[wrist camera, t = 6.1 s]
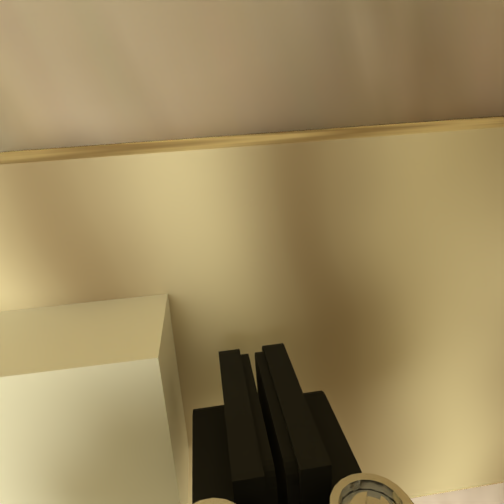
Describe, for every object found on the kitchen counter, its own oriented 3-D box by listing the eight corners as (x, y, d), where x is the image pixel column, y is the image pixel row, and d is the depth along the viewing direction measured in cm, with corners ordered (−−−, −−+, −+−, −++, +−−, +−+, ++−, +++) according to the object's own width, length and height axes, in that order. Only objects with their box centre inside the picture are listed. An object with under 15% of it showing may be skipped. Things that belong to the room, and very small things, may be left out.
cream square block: (167, 293, 11) (157, 357, 8) (188, 448, 12) (186, 547, 10) (-40, 315, 10) (-129, 392, 7) (10, 474, 12) (-47, 587, 9)
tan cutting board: (558, 112, 16) (712, 111, 11) (514, 380, 20) (615, 463, 15) (4, 151, 14) (-94, 171, 9) (76, 442, 18) (33, 562, 13)
